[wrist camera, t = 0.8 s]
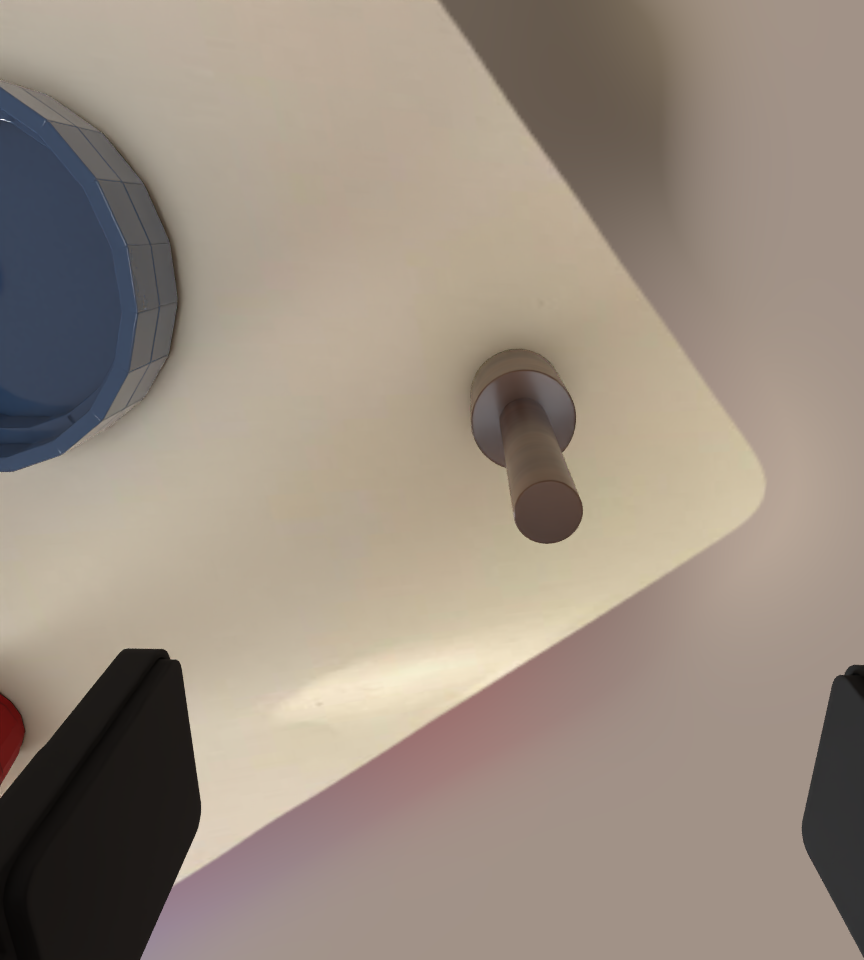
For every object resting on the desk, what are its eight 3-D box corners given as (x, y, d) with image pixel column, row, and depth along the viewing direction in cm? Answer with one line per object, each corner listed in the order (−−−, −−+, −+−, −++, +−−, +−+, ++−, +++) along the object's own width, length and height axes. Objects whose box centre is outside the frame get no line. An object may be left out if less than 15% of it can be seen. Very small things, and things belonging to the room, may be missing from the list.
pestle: (470, 349, 34) (472, 440, 20) (563, 348, 34) (631, 439, 20) (470, 438, 36) (472, 580, 22) (559, 437, 36) (619, 581, 21)
